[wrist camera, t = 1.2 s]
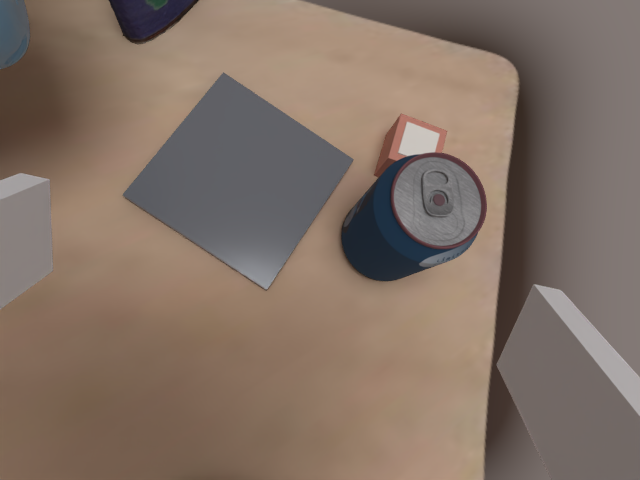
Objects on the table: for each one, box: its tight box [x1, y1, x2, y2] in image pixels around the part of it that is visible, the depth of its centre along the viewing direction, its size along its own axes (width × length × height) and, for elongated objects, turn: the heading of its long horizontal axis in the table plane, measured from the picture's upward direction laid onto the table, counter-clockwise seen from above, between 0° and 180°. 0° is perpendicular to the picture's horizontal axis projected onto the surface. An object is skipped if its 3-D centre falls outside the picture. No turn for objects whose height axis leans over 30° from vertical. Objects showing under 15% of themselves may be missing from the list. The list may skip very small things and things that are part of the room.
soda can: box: [342, 152, 487, 281], centre depth 31 cm, size 7×7×12 cm
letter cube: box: [374, 114, 447, 177], centre depth 37 cm, size 4×4×4 cm
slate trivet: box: [123, 72, 354, 291], centre depth 35 cm, size 13×13×1 cm
